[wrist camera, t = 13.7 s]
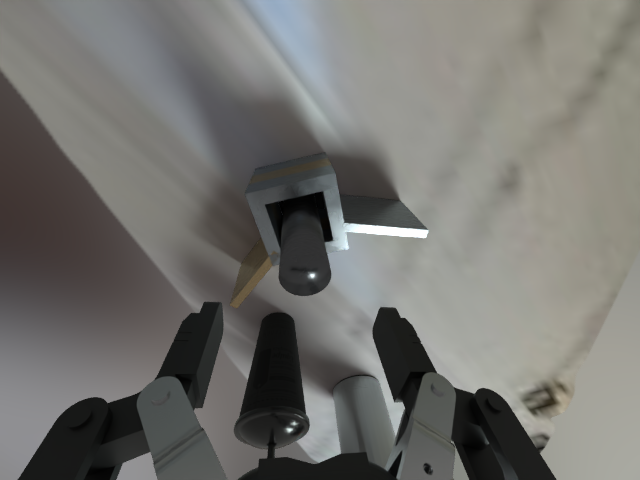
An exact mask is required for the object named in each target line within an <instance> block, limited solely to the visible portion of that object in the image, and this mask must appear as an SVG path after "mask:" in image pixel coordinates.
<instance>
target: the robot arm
mask: <svg viewBox="0 0 640 480" xmlns="http://www.w3.org/2000/svg"><path fill="white" fill-rule="evenodd" d="M222 334H223V312H222V303H221V302H204V304H203V306H202V309H201V311H200V313H191V314H190V315H189V316H188V317H187V318H186V319H185V320H184V321H183V322H182V324H181V326H180V328H179V330H178V333H177V334H176V337H175V339H174V342H173V343H172V345H171V348H170V349H169V352H168V354H167V356H166V358H165V361H164V362H163V365H162V367H161V369H160V371H159V373H158V375H157V377H156V378H155V380H154V381H152V382H151V383H149V384H148V385H147V386H146V387H145V388H144V389H143V390H142V391H141V392H139V393H137V394H135V395H132V396H129V397H126V398H123V399H120V400H117V401H113V402H110V403H107V402H106V401H105V400H104V399H102V398H98V397H93V398H88V399H85V400H82V401H79V402H77V403H76V404H74V405H72V406H71V407H70V408H68V409H67V410H65V411H64V412H63V413H62V414H61V415H60V416H59V418H58V419H57V420H56V422H55V423H54V425H53V426H52V428H51V429H50V431H49V433H48V434H47V436H46V437H45V439H44V440H43V442H42V443H41V445H40V446H39V448H38V449H37V451H36V452H35V454H34V456H33V457H32V459H31V460H30V462H29V464H28V465H27V466H26V468H25V469H24V471H23V473H22V474H21V476H20V477H19V479H18V480H116V479H117V476H118V474H119V471H120V469H121V466H122V463H124V462H126V461H128V460H131V459H134V458H136V457H138V456H141V455H143V454H146V453H148V452H151V455H152V458H153V462H154V468H155V472H156V476H157V479H158V480H228V479H227V477H226V475H225V473H224V470H223V468H222V466H221V464H220V462H219V460H218V457H217V455H216V453H215V451H214V449H213V447H212V444H211V442H210V440H209V438H208V436H207V434H206V432H205V430H204V429H203V428H202V427H201V426H200V424H199V421H198V419H197V417H196V415H195V413H194V409H195V408H202V407H203V404H204V400H205V397H206V393H207V389H208V385H209V382H210V378H211V375H212V371H213V367H214V364H215V360H216V356H217V353H218V349H219V346H220V342H221V339H222ZM373 339H374V342H375V345H376V348H377V351H378V354H379V357H380V360H381V363H382V366H383V369H384V372H385V375H386V378H387V381H388V384H389V387H390V390H391V393H392V396H393V399H394V402H403V404H404V406H405V409H404V412H403V415H402V418H401V422H400V425H399V428H398V432H397V435H396V437H395V433H394V430H393V427H392V423H391V420H390V416H389V413H388V410H387V406H386V403H385V399H384V396H383V393H382V389H381V386H380V383H379V381H378V380H377V379H375V378H373V377H369V376H355V377H351V378H347V379H345V380H343V381H341V382H340V383H338V384H337V385H336V386H335V388H334V390H333V398H334V405H335V412H336V420H337V428H338V435H339V442H340V449H341V454H339V455H337V456H335V457H332V458H330V459H327V460H325V461H323V462H320V463H318V464H311V463H307V462H303V461H300V460H295V459H292V458H288V457H281V458H267V459H259V467H258V468H255V469H253V470H251V471H249V472H247V473H246V474H244V475H243V476H242V477H240V478H239V479H238V480H452V479H453V469H454V459H455V446H456V448H457V451H458V453H459V456H460V458H461V460H462V463H463V465H464V468H465V470H466V473H467V475H468V477H469V480H556V478H555V477H554V475H553V474H552V472H551V470H550V469H549V467H548V466H547V464H546V463H545V461H544V460H543V458H542V456H541V455H540V453H539V452H538V450H537V448H536V447H535V445H534V444H533V442H532V441H531V439H530V438H529V436H528V434H527V433H526V431H525V430H524V428H523V427H522V425H521V423H520V422H519V420H518V419H517V417H516V416H515V414H514V413H513V411H512V409H511V408H510V406H509V405H508V403H507V402H506V401H505V400H504V399H503V398H502V397H501V396H500V395H499V394H497V393H496V392H494V391H492V390H490V389H486V388H481V389H478V390H477V391H476V393H475V394H473V393H470V392H467V391H463V390H460V389H457V388H454V387H453V386H452V384H451V383H450V382H449V381H448V380H447V379H446V378H445V377H443V376H442V375H440V374H437V372H436V370H435V368H434V366H433V364H432V362H431V360H430V359H429V357H428V355H427V353H426V351H425V349H424V347H423V345H422V344H421V341H420V339H419V337H417V333H416V331H415V329H414V328H413V326H412V325H411V324H410V323H409V322H408V321H407V320H406V319H405V318H401V317H400V315H399V313H398V311H397V309H396V308H390V307H381V308H380V309H379V311H378V314H377V317H376V320H375V323H374V326H373ZM451 441H454V444H455V446H454V445H453V444H452V443H451Z"/></svg>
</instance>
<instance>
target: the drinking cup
mask: <svg viewBox="0 0 640 480" xmlns="http://www.w3.org/2000/svg"><path fill="white" fill-rule="evenodd" d="M309 426H310V424H309V418H308V417H307V415H306V410H305V402H304V395H303V387H302V379H301V371H300V363H299V355H298V347H297V339H296V331H295V323H294V320H293V319H292V317H290V316H289V315H287V314H284V313H273V314H270V315H268V316H266V317H265V318H264V319H263V321H262V324H261V328H260V332H259V336H258V340H257V345H256V349H255V353H254V357H253V361H252V366H251V370H250V374H249V378H248V382H247V387H246V391H245V395H244V399H243V404H242V408H241V412H240V416H239V419H238V420H237V421H236V423H235V427H234V434H235V436H236V437H237V439H238V440H240V441H241V442H243V443H245V444H248V445H251V446H253V447H256V448H259V449H268V456H267V458H275V449H278V448H281V447H285V446H287V445H289V444H291V443H293V442H295V441H297V440H299V439H300V438H302V437H303V436H305V435H306V433H307V432H308V430H309Z"/></svg>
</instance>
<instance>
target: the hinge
mask: <svg viewBox="0 0 640 480" xmlns="http://www.w3.org/2000/svg"><path fill="white" fill-rule="evenodd" d="M316 192H321V193H322V197H323V202H324V207H325V209H320V210H318V213H319V218H320V223H321V228H322V232H323V237H324V242H325V246H326V251H327V253H332V252H336V251H340V250H345V249H349V247H348V241H347V236H346V232H359V233H371V234H384V235H396V236H409V237H421V238H426V236H427V233H428V231H429V230H428V229H427V228H426V227H425V226H424V225H423V224H422V223H421V222H420V221H419V220H418V219H417V217H416V216H415V215H414V214H413V213H412V212H411V211H410V210H409V209H408V208H407V207H406V206H405V205H404V204H403V203H402V202H401V201H399V200H389V199H380V198H370V197H360V196H351V195H341V194H339V190H338V185H337V179H336V173H335V171H334V169H333V167H332V165H331V163H330V161H329V159H328V157H327V155H326V153H320V154H316V155H312V156H308V157H304V158H299V159H295V160H291V161H287V162H282V163H278V164H274V165H270V166H266V167H261V168H257V169H255V171H254V174H253V176H252V178H251V181H250V183H249V185H248V188H247V190H246V192H245V196H246V199H247V201H248V204H249V206H250V209H251V212H252V214H253V217H254V219H255V222H256V224H257V227H258V230H259V232H260V235H261V238H260V240H259V241H258V242H257V244H256V245H255V246H254V248H253V249H252V250H251V252H250V253H249V254H248V256H247V257H246V258H245V260H244V261H243V262H242V264H241V267H240V270H239V274H238V277H237V281H236V285H235V288H234V292H233V295H232V299H231V303H230V306H232V307H234V308H238V307H239V305H240V304H241V303H242V302H243V301H244V299H245V298H246V297H247V296H248V295H249V293H250V292H251V291H252V290H253V288H254V287H255V286H256V285H257V284H258V282H259V281H260V280H261V279H262V278H263V276H264V275H265V274H266V273H267V271H268V270H269V269H270V268H271V267H272V266H275V265H279V264H280V250H281V235H282V219H283V215H282V212H281V208H280V205H279V202H278V201H282V200H286V199H291V198H295V197H299V196H303V195H308V194H312V193H316Z"/></svg>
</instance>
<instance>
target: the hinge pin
mask: <svg viewBox="0 0 640 480" xmlns="http://www.w3.org/2000/svg"><path fill="white" fill-rule="evenodd" d="M330 279H331V270H330V265H329V260H328V256H327V251H326V246H325V242H324V237H323V232H322V228H321V223H320V218H319V213H318V209H317V204H316V199H315V195H314V193H312V194H308V195H303V196H299V197H295V198H291V199H286V200H284V204H283V219H282V235H281V250H280V265H279V281H280V284H281V285H282V287H283V288H284V289H285V290H286V291H288V292H289V293H292V294H294V295H299V296H309V295H313V294H316V293H318V292H320V291H322V290H323V289H324V288H325V287H326V286H327V285H328V283H329V282H330Z"/></svg>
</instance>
